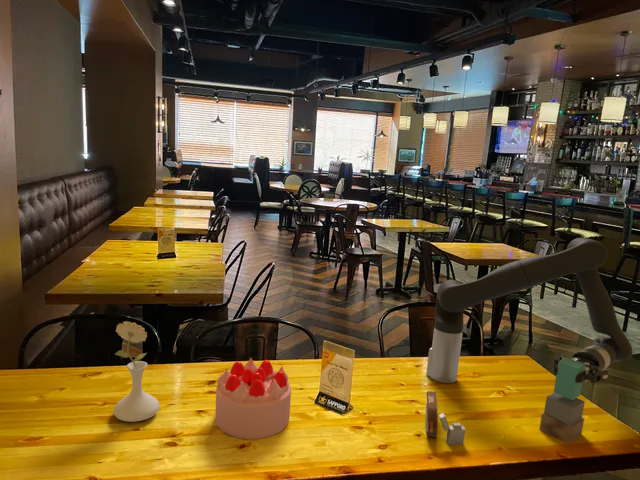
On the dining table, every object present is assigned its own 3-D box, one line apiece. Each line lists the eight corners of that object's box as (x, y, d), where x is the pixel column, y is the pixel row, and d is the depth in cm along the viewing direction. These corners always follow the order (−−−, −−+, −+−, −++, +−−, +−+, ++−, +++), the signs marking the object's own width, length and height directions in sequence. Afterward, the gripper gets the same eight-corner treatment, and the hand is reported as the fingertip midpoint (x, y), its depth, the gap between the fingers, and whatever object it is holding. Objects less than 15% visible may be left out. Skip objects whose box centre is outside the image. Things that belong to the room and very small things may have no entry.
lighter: (460, 440, 121) (464, 412, 119) (463, 444, 119) (467, 416, 117) (434, 440, 120) (438, 412, 118) (437, 445, 118) (440, 416, 116)
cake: (217, 444, 112) (219, 390, 109) (213, 402, 131) (214, 354, 128) (296, 436, 117) (299, 384, 115) (281, 397, 136) (284, 351, 134)
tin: (436, 444, 118) (440, 414, 117) (424, 441, 119) (427, 411, 117) (434, 413, 133) (438, 386, 131) (423, 412, 133) (426, 384, 132)
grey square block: (543, 413, 128) (546, 396, 127) (556, 406, 132) (558, 390, 131) (569, 425, 122) (572, 408, 122) (581, 418, 127) (584, 401, 126)
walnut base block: (539, 430, 128) (541, 413, 128) (551, 421, 134) (554, 405, 133) (569, 444, 122) (572, 427, 122) (581, 434, 128) (584, 418, 127)
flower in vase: (168, 410, 125) (170, 322, 121) (136, 431, 115) (136, 335, 110) (133, 397, 130) (133, 312, 126) (98, 416, 120) (97, 324, 116)
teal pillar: (553, 392, 126) (558, 361, 125) (561, 387, 130) (566, 357, 128) (572, 400, 123) (578, 368, 121) (580, 395, 126) (585, 364, 124)
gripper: (567, 340, 139) (541, 352, 128) (621, 357, 128) (597, 372, 117) (563, 363, 140) (537, 377, 129) (616, 382, 129) (593, 399, 119)
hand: (566, 375), depth 123 cm, fingers closed on teal pillar, 4 cm apart
